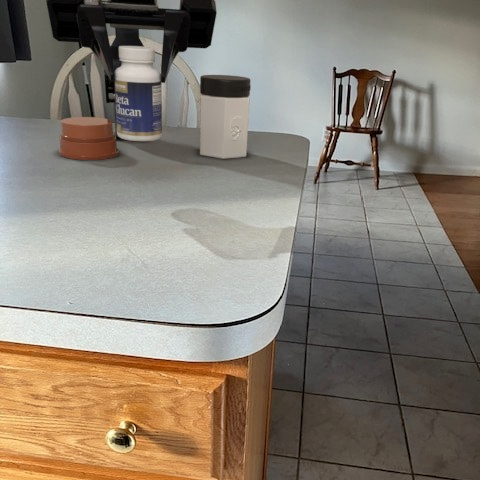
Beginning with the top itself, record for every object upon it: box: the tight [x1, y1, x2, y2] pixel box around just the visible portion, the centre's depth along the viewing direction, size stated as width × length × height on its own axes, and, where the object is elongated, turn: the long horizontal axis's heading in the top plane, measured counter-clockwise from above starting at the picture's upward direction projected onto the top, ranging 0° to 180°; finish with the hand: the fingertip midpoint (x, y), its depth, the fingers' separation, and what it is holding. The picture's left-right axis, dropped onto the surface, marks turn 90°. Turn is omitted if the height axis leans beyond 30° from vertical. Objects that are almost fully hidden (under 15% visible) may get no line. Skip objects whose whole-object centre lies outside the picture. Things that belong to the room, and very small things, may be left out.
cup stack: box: [58, 116, 120, 161], centre depth 87 cm, size 9×9×5 cm
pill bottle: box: [114, 46, 163, 142], centre depth 63 cm, size 5×5×10 cm
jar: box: [199, 74, 252, 160], centre depth 90 cm, size 9×8×12 cm
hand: (138, 79), depth 61 cm, fingers closed on pill bottle, 5 cm apart
